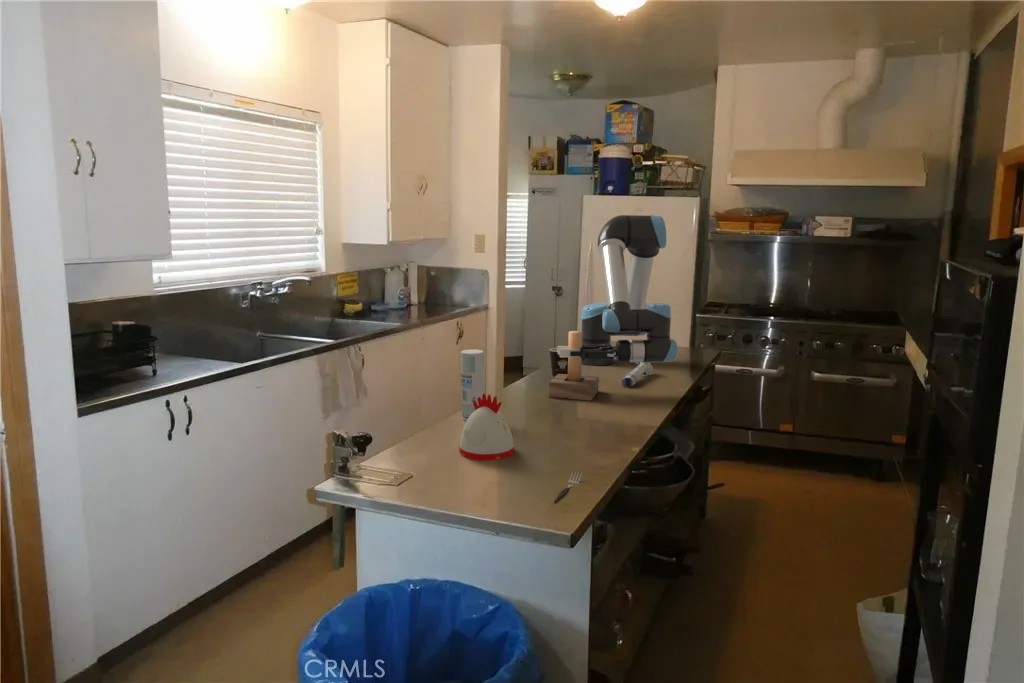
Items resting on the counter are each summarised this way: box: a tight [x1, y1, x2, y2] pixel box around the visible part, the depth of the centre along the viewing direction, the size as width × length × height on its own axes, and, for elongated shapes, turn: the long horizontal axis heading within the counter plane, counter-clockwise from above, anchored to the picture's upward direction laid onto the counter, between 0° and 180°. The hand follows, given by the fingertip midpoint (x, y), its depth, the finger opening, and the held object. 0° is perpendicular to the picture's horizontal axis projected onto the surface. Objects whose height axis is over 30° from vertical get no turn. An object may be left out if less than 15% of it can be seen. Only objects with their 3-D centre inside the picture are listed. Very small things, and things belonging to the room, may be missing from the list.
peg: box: [567, 330, 582, 381], centre depth 246 cm, size 4×4×16 cm
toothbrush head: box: [621, 362, 654, 388], centre depth 269 cm, size 5×7×25 cm
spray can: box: [460, 349, 485, 422], centre depth 218 cm, size 6×6×20 cm
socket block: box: [548, 374, 599, 401], centre depth 248 cm, size 13×14×5 cm
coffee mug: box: [549, 347, 583, 377], centre depth 272 cm, size 12×9×10 cm
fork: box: [553, 471, 583, 503], centre depth 165 cm, size 3×16×2 cm, turn 158°
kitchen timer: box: [458, 393, 515, 461], centre depth 190 cm, size 14×14×15 cm
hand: (558, 351), depth 245 cm, fingers closed on peg, 4 cm apart
